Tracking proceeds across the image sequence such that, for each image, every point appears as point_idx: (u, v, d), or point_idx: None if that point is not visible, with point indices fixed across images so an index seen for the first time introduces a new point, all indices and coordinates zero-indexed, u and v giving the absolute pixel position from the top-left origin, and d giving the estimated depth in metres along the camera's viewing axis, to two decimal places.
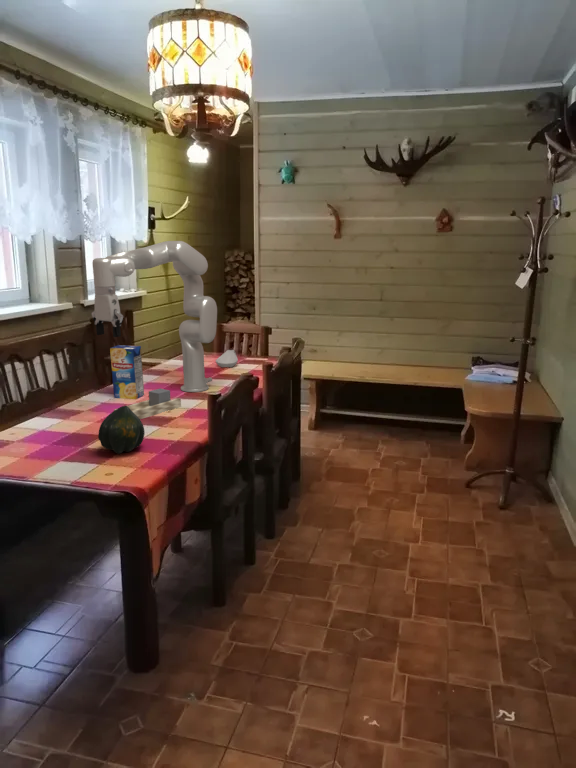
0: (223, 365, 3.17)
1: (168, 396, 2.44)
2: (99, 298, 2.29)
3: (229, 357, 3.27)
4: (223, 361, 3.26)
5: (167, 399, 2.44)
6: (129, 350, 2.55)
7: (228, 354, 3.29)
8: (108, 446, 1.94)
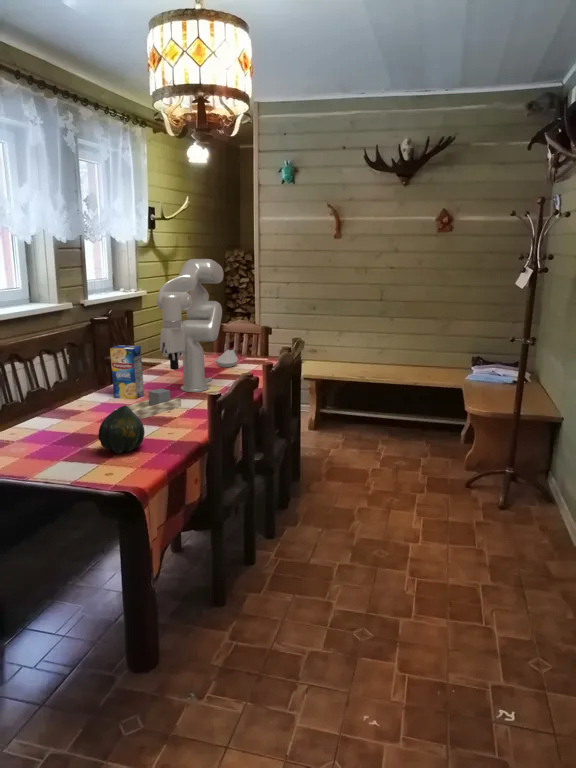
0: (223, 365, 3.18)
1: (168, 396, 2.44)
2: (175, 331, 2.42)
3: (229, 357, 3.28)
4: (223, 361, 3.26)
5: (167, 399, 2.44)
6: (129, 350, 2.55)
7: (228, 354, 3.29)
8: (108, 446, 1.94)
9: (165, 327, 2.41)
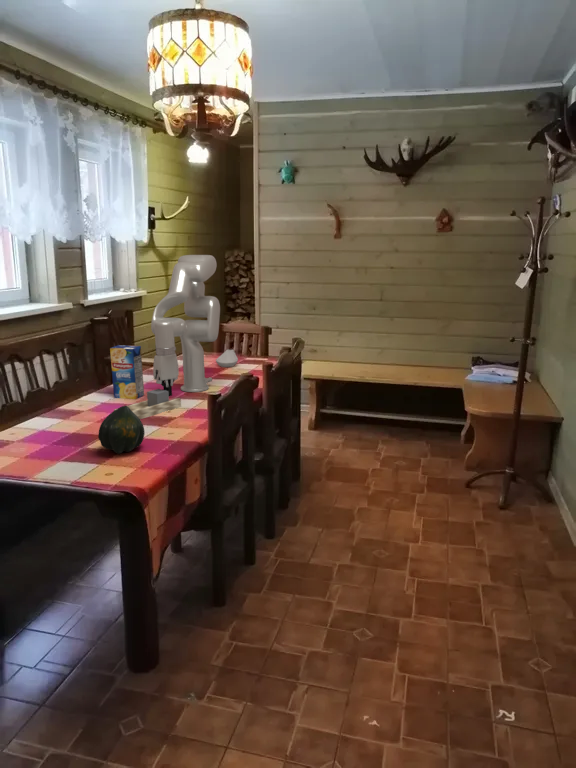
0: (223, 365, 3.18)
1: (166, 396, 2.43)
2: (168, 358, 2.42)
3: (229, 357, 3.28)
4: (223, 361, 3.27)
5: (165, 399, 2.43)
6: (129, 350, 2.55)
7: (228, 354, 3.30)
8: (108, 446, 1.94)
9: (158, 354, 2.40)
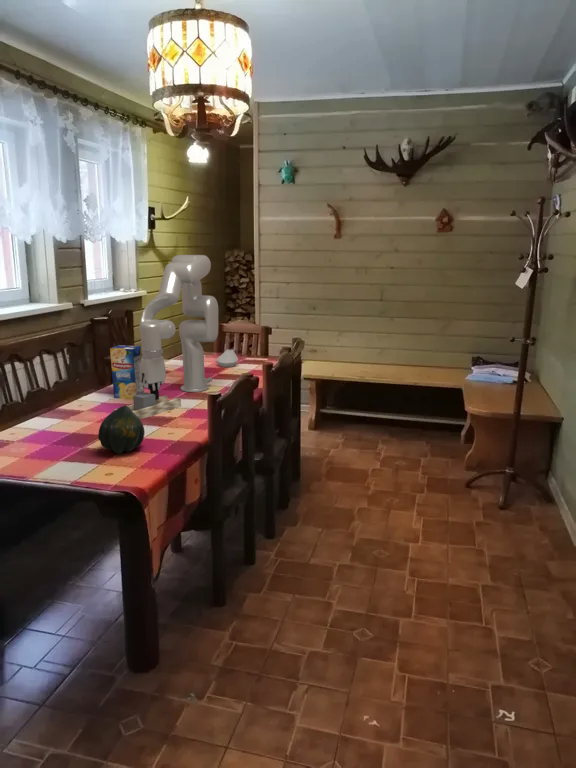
0: (224, 364, 3.18)
1: (153, 400, 2.38)
2: (155, 361, 2.36)
3: (229, 357, 3.29)
4: (223, 361, 3.27)
5: (152, 403, 2.38)
6: (129, 350, 2.55)
7: (228, 354, 3.30)
8: (108, 446, 1.94)
9: (144, 357, 2.35)
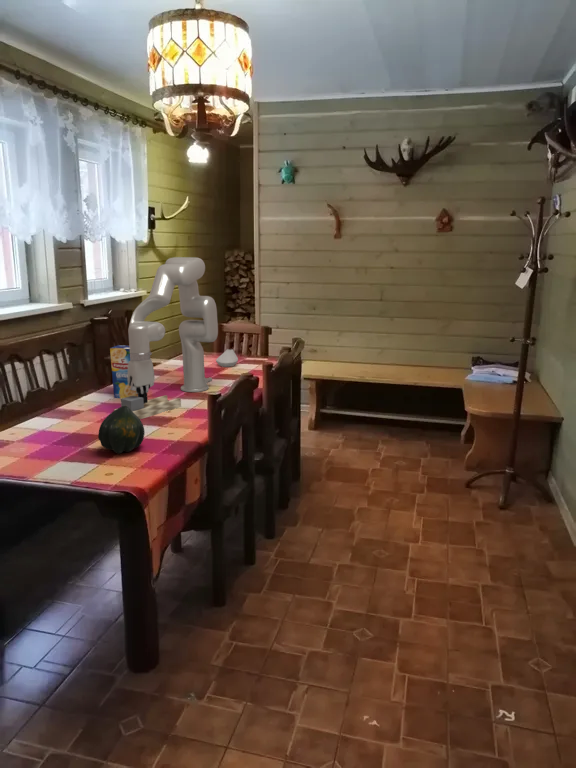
0: (224, 364, 3.19)
1: (141, 404, 2.33)
2: (143, 364, 2.32)
3: (229, 356, 3.29)
4: (223, 360, 3.27)
5: (140, 407, 2.33)
6: (129, 350, 2.55)
7: (228, 353, 3.30)
8: (108, 446, 1.94)
9: (132, 360, 2.30)
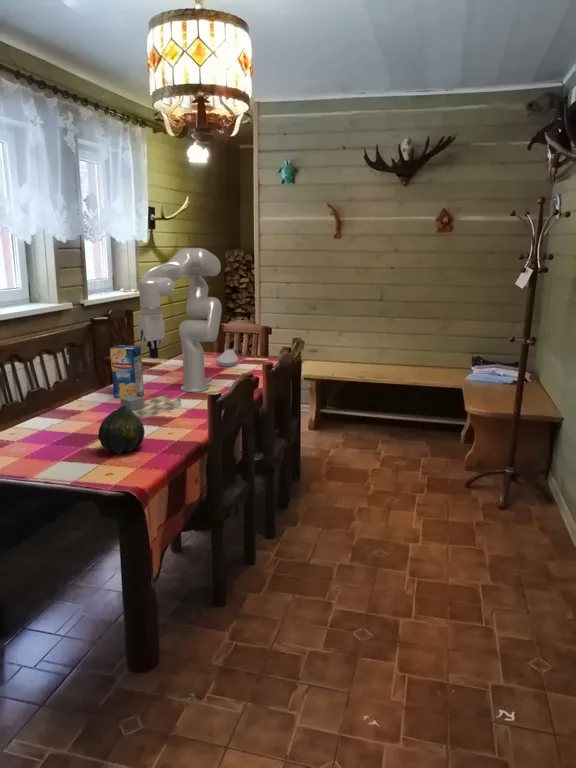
0: (224, 364, 3.19)
1: (141, 404, 2.33)
2: (154, 318, 2.34)
3: (229, 356, 3.29)
4: (223, 360, 3.27)
5: (140, 407, 2.33)
6: (129, 350, 2.55)
7: (228, 353, 3.31)
8: (108, 446, 1.94)
9: (143, 314, 2.33)
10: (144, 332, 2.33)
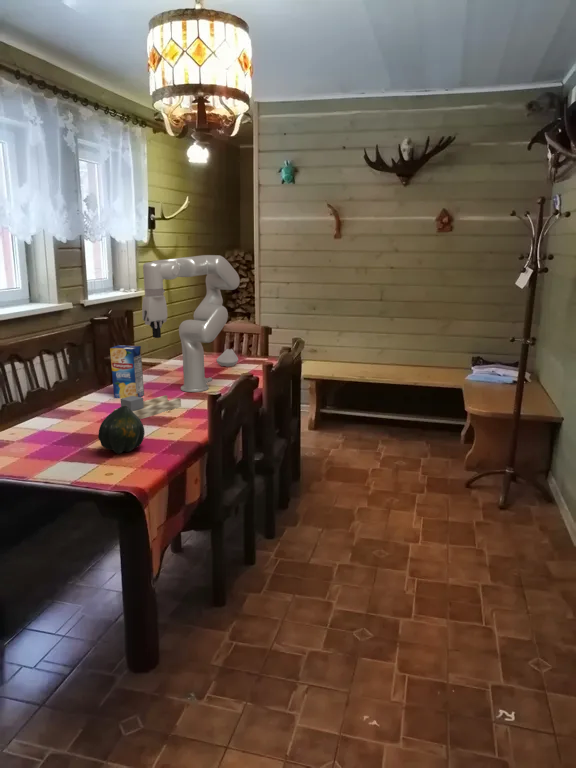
0: (225, 364, 3.19)
1: (141, 404, 2.33)
2: (157, 299, 2.46)
3: (229, 356, 3.30)
4: (223, 360, 3.28)
5: (140, 407, 2.33)
6: (129, 350, 2.55)
7: (227, 353, 3.31)
8: (108, 446, 1.94)
9: (147, 295, 2.44)
10: (147, 312, 2.44)
